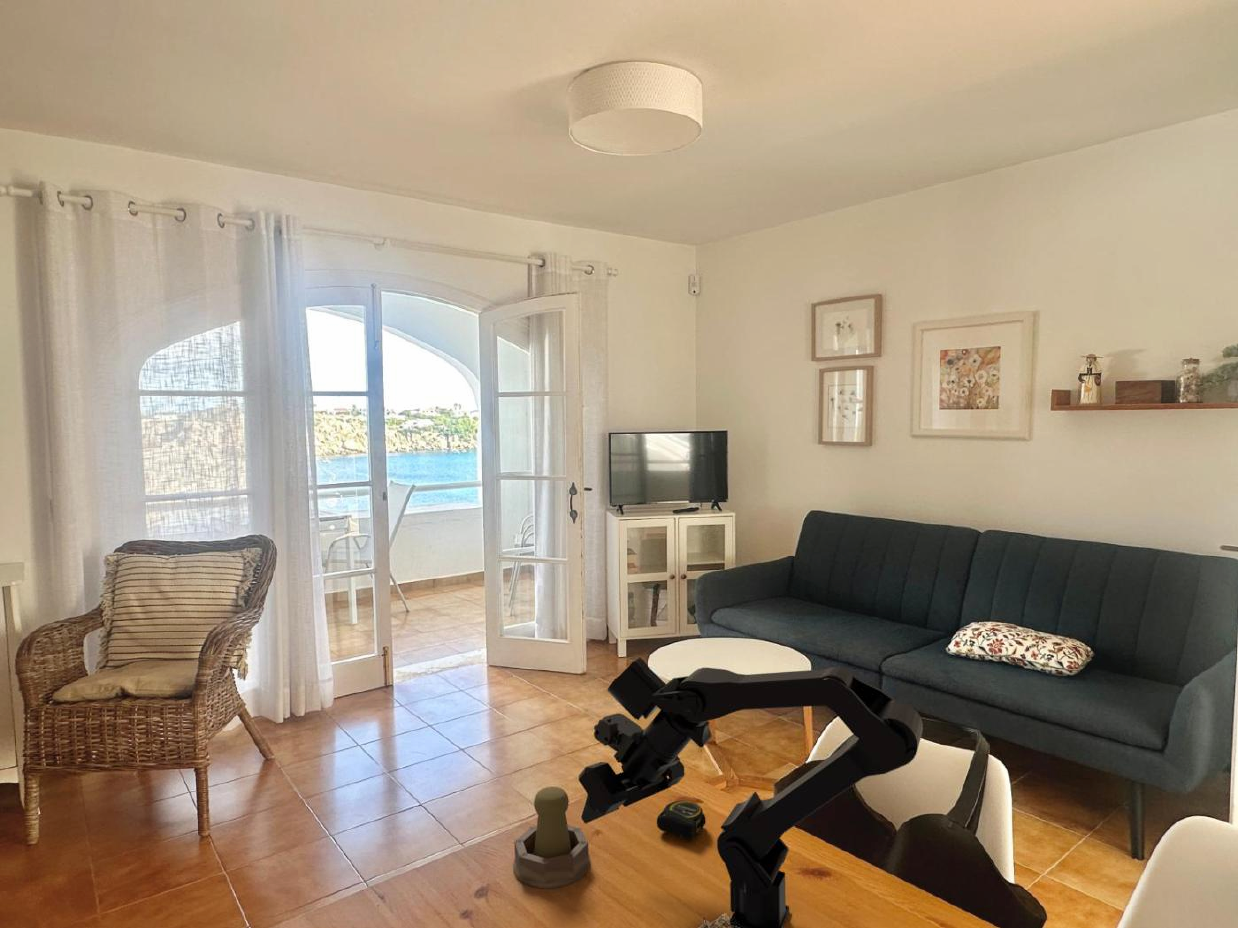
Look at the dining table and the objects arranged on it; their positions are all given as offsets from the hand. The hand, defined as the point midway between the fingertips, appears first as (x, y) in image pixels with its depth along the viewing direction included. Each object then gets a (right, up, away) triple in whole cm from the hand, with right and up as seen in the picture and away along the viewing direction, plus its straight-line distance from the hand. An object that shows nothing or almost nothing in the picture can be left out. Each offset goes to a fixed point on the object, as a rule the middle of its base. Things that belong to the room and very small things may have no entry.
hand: (604, 811), depth 112 cm
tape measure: (+13, -9, +11) cm, 19 cm away
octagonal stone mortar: (-8, -10, +3) cm, 13 cm away
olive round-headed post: (-8, -9, +3) cm, 12 cm away
